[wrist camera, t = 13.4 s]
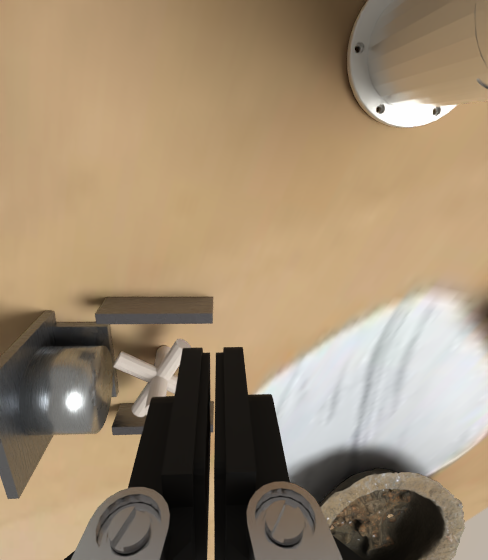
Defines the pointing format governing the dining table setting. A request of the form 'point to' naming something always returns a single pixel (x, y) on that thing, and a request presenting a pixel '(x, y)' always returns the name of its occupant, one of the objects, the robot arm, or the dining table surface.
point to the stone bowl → (395, 516)
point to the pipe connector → (153, 373)
